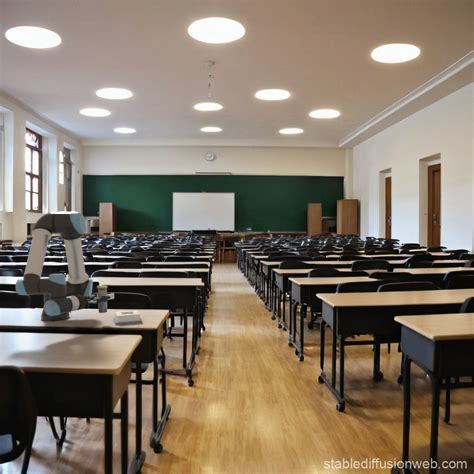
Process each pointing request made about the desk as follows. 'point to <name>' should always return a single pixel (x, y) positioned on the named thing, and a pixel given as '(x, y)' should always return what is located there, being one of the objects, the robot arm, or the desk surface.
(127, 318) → the socket block
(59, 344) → the desk surface
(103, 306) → the grey metal peg
